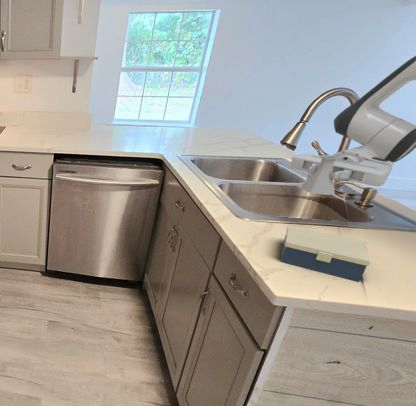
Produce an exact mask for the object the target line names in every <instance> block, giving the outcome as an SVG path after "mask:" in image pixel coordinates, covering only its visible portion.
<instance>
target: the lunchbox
mask: <svg viewBox="0 0 416 406" xmlns="http://www.w3.org/2000/svg"><path fill="white" fill-rule="evenodd" d="M281 246H282V248H281V254H280V255H281V256H280V262H281V263H285V264H288V265H292V266H296V267H300V268H303V269H307V270H311V271H315V272H319V273H323V274H326V275H330V276H335V277H339V278H343V279H346V280H350V281H354V282H357V283H360V281H361V279H362V277H363V275H364V273H365V271H366V268H367V267H369V266H370V264H371V258H370V255H369V252H368V247H367V244H366V241H365V240H362V239H356V238H352V237H347V236H342V235H338V234H333V233H328V232H323V231H318V230H314V229H309V228H305V227H299V226H296V225H295V226H294V225H291V224H288V225H287V228H286V232H285V236H284V239H283V242H282V245H281Z"/></svg>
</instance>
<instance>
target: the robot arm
mask: <svg viewBox="0 0 416 406" xmlns="http://www.w3.org/2000/svg"><path fill="white" fill-rule="evenodd" d="M413 81H416V55H415V56H413V57H411V58H410V59H408V60H407V61H405V62H404V63H403V64H402V65H400V66H399V67H397V68H396V69H395V70H394V71H392V72H391V73H390V74H389V75H387V76H386V77H385V78H383V79H382V80H381V81H380V82H378V83H377V84H376V85H375V86H373V88H371V89H369V91H367V92H366V93H365V94H364V95H362V96H361V97H360V98H359V99H357V100H356V101H355V102H353V103H352V104H351V105H349V106H348V107H346V108H344V109H343V110H341V112H339V113H338V115H336V117H335V118H334V119H333V128H334V131H335V133H336V134H339V135H341V136H343V137H345V138H347V139H350V140H352V141H354V142H356V143H357V144H360V145H359V146H356V147H355V146H354V147H353V148H349V149H344V150H341V151H338V152H337V151H336V152H335V153H333V154H331V156H335V157H337V160H335V162H334V165H333V171H331V173H330V175H329V177H330V178H333V180H337V181H341V182H355V183H358V184H363V185H367V186H372V187H381V186H383V185H385V184H386V182H387V180H388V178H389V176H390V174H391V172H392V169H393V165H394V163H397V162H399V161H400V160H402V159H404V158H405V157H407V156H408V155H409V154H410V153H412V151H414V150H415V149H416V125H415V124H414V123H411V122H410V121H407V120H405V119H403V118H400V117H398V116H396V115H393V114H392V113H390V112H388V111H385V110H383V109H382V108H381V107H380V104H382V103H383V102H385V100H387V99H389V98H390V97H391V96H392V95H394V94H395V93H396V92H398V91H399V90H400V89H402V88H403V87H404V86H405V85H407V84H408V83H410V82H413ZM321 156H322V155H320V154H314V153H302V154H296V155H293V157H292V159H291V162H290V167H291V168H293V169H296V170H301V171H306V172H307V173H308V174H311V175H312V174H314V173H315V171H316V169H317V168H318V166H319V164H320V163H321V160H322V158H321Z"/></svg>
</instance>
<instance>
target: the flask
mask: <svg viewBox="0 0 416 406" xmlns="http://www.w3.org/2000/svg"><path fill="white" fill-rule="evenodd" d="M320 156H321V158H322V160H321V163H320V164H319V166H318V168H317V169H316V171H315V173H314V174H311V175H310V176H309V177H308V178H307V179H306V180H305V181H304V182H303V183H302V185H300V187H301V190H302V191H305V192H308V193H310V194H315V195H322V196H323V195H324V196H330V195H336V194H335V185H334V179H333V178H330V177H329V175H330V173H331V171H333V165H334V162H335V160H337V157H335V156H332V155H328V154H322V155H320Z"/></svg>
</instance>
